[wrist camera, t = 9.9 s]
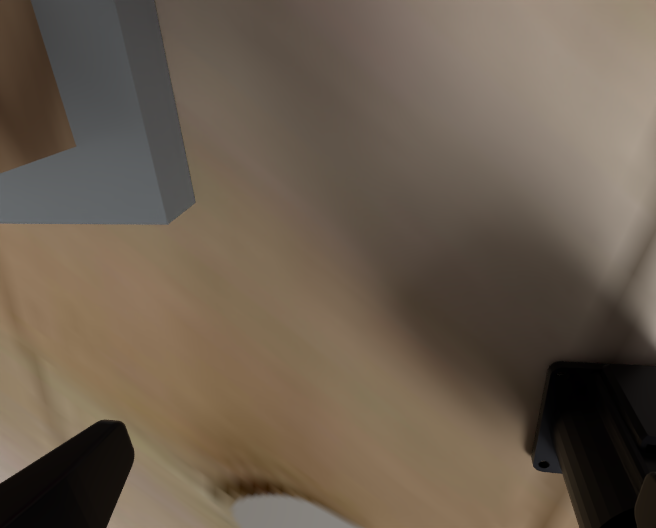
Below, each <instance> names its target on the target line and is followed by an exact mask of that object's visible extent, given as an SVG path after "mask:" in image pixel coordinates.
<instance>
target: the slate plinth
mask: <svg viewBox="0 0 656 528" xmlns="http://www.w3.org/2000/svg"><path fill="white" fill-rule="evenodd" d="M31 3H32V6H33V9H34V12H35V16H36V19H37V22H38V25H39V29H40V32H41V35H42V38H43V41H44V45H45V48H46V51H47V54H48V57H49V61H50V64H51V67H52V70H53V73H54V77H55V80H56V83H57V86H58V89H59V93H60V96H61V99H62V102H63V105H64V109H65V112H66V115H67V118H68V121H69V125H70V128H71V131H72V134H73V137H74V141H75V144H76V147H74V148H71V149H68V150H65V151H62V152H59V153H57V154H54V155H51V156H48V157H45V158H42V159H40V160H37V161H34V162H31V163H28V164H26V165H23V166H20V167H17V168H14V169H11V170H9V171H6V172H3V173H0V223H13V224H167V225H168V224H169V223H170V222H172V221H173V220H174V219H175V218H177V217H178V216H179V215H180V214H182V213H183V212H184V211H186V210H187V209H188V208H189V207H191V206H192V205H193V204H194V203H196V202H195V197H194V192H193V187H192V183H191V178H190V173H189V168H188V163H187V158H186V153H185V148H184V144H183V139H182V134H181V129H180V124H179V119H178V114H177V109H176V104H175V100H174V95H173V90H172V85H171V80H170V75H169V70H168V65H167V60H166V56H165V51H164V46H163V41H162V36H161V31H160V26H159V21H158V17H157V12H156V7H155V2H154V0H31Z"/></svg>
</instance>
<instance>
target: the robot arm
mask: <svg viewBox="0 0 656 528" xmlns="http://www.w3.org/2000/svg"><path fill="white" fill-rule="evenodd" d="M560 372H565V373H564V374H563V375H557V374H558V373H560ZM531 458H532V463H533V467H534V468H535V469H536V470H538V471H542V472H551V473H561V474H563V477H564V480H565V484H566V487H567V490H568V493H569V496H570V499H571V503H572V506H573V509H574V512H575V515H576V518H577V521H578V525H579V528H656V367H655V366H638V365H620V364H600V363H583V362H565V361H560V362H555V363H553V364H552V365H550V366H549V369H548V372H547V378H546V383H545V388H544V393H543V398H542V404H541V409H540V414H539V419H538V425H537V430H536V435H535V440H534V446H533V451H532V456H531ZM133 461H134V448H133V446H132V443H131V440H130V437H129V435H128V432H127V429H126V426H125V424H124V423H122V422H121V421H115V420H100V421H98V422H96V423H95V424H93V425H92V426H90V427H88V428H87V429H85V430H84V431H82V432H81V433H79V434H77V435H76V436H74V437H73V438H71V439H70V440H68V441H66V442H65V443H63V444H62V445H60V446H59V447H57V448H55V449H54V450H52V451H51V452H49V453H48V454H46V455H44V456H43V457H41V458H40V459H38V460H37V461H35V462H33V463H32V464H30V465H29V466H27V467H26V468H24V469H22V470H21V471H19V472H18V473H16V474H15V475H13V476H11V477H10V478H8V479H7V480H5V481H4V482H2V483H1V484H0V528H106V527H107V525H108V523H109V520H110V518H111V515H112V513H113V511H114V508H115V506H116V503H117V501H118V499H119V496H120V494H121V491H122V489H123V487H124V484H125V482H126V479H127V477H128V475H129V472H130V470H131V467H132V465H133ZM541 461H542V462H541Z"/></svg>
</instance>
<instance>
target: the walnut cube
mask: <svg viewBox="0 0 656 528" xmlns="http://www.w3.org/2000/svg"><path fill="white" fill-rule="evenodd" d="M74 147H76V144H75V141H74V137H73V134H72V131H71V128H70V125H69V121H68V118H67V115H66V112H65V109H64V105H63V102H62V99H61V96H60V93H59V89H58V86H57V83H56V80H55V77H54V73H53V70H52V67H51V64H50V61H49V57H48V54H47V51H46V48H45V45H44V41H43V38H42V35H41V32H40V29H39V25H38V22H37V19H36V16H35V12H34V9H33V6H32V3H31V0H0V173H3V172H6V171H9V170H11V169H14V168H17V167H20V166H23V165H26V164H28V163H31V162H34V161H37V160H40V159H42V158H45V157H48V156H51V155H54V154H57V153H59V152H62V151H65V150H68V149H71V148H74Z"/></svg>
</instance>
